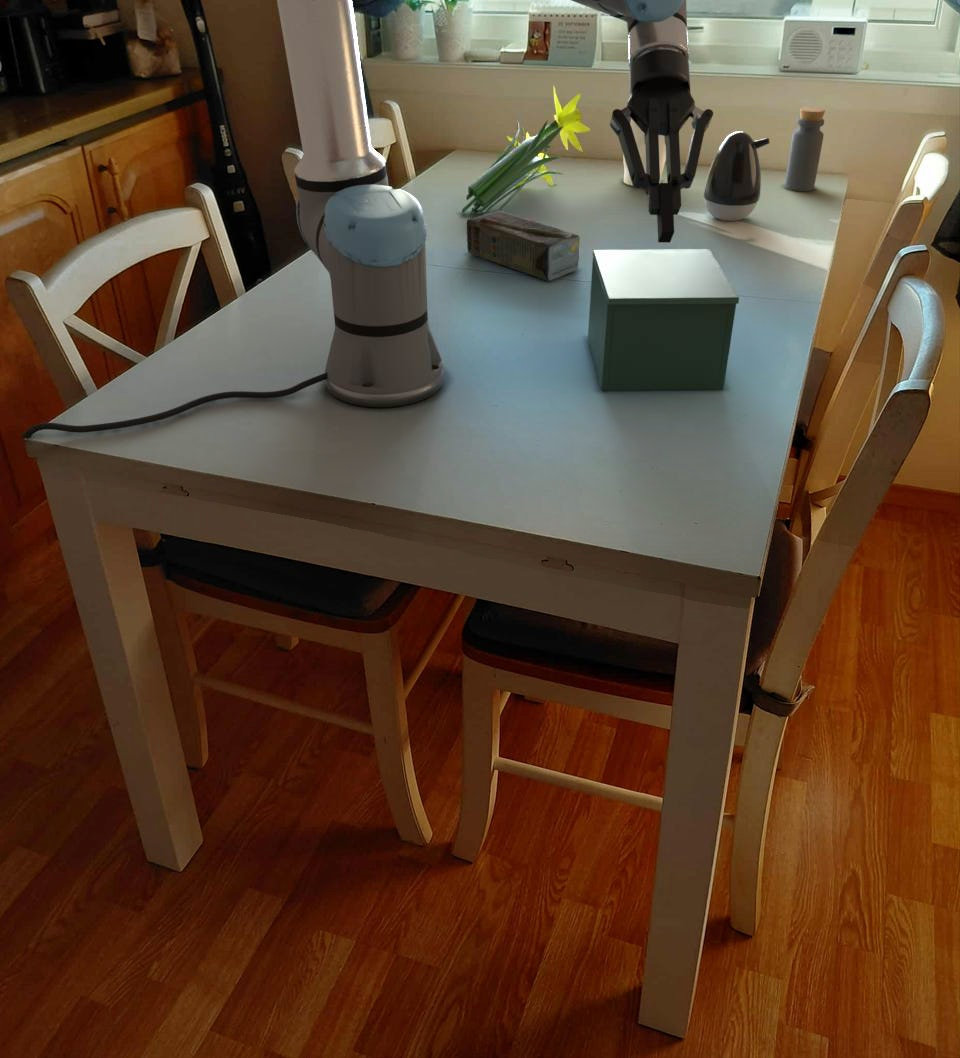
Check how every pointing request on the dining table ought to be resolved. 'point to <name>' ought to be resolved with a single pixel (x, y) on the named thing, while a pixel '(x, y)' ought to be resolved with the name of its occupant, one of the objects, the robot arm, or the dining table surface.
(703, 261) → the bin lid
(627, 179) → the water bottle
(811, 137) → the bottle
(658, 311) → the bin
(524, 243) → the beverage carton
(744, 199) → the pump dispenser
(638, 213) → the dining table surface
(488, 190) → the daffodil flowers
